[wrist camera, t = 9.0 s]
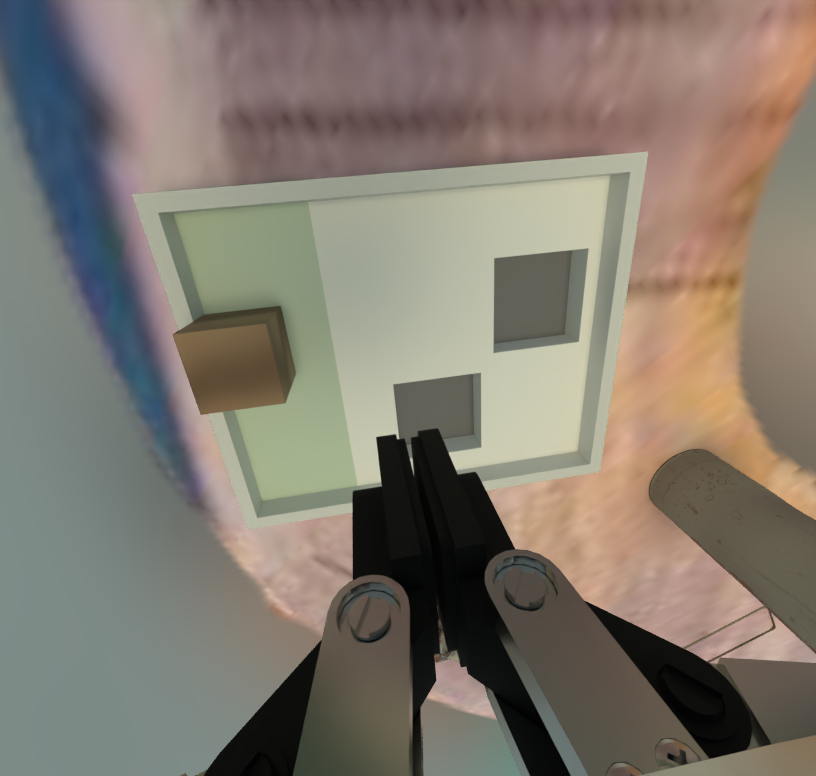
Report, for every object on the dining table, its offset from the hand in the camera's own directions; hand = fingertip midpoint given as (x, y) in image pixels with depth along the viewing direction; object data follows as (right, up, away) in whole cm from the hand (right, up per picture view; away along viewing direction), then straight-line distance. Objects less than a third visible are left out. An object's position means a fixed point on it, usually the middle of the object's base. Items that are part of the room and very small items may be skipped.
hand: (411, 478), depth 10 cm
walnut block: (-11, +5, +16) cm, 20 cm away
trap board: (0, +6, +20) cm, 21 cm away
